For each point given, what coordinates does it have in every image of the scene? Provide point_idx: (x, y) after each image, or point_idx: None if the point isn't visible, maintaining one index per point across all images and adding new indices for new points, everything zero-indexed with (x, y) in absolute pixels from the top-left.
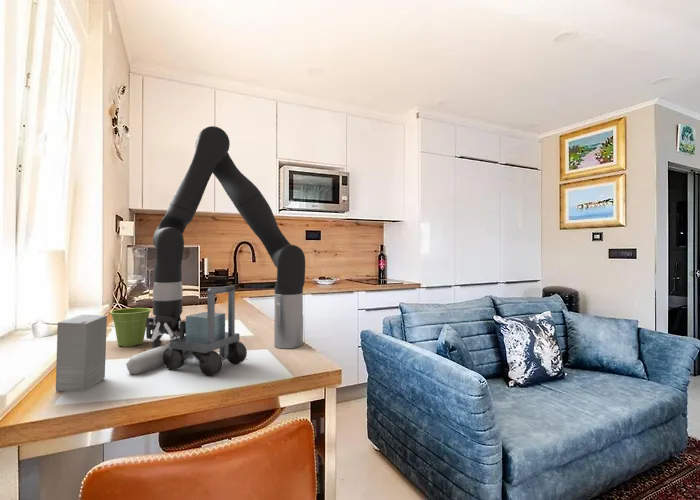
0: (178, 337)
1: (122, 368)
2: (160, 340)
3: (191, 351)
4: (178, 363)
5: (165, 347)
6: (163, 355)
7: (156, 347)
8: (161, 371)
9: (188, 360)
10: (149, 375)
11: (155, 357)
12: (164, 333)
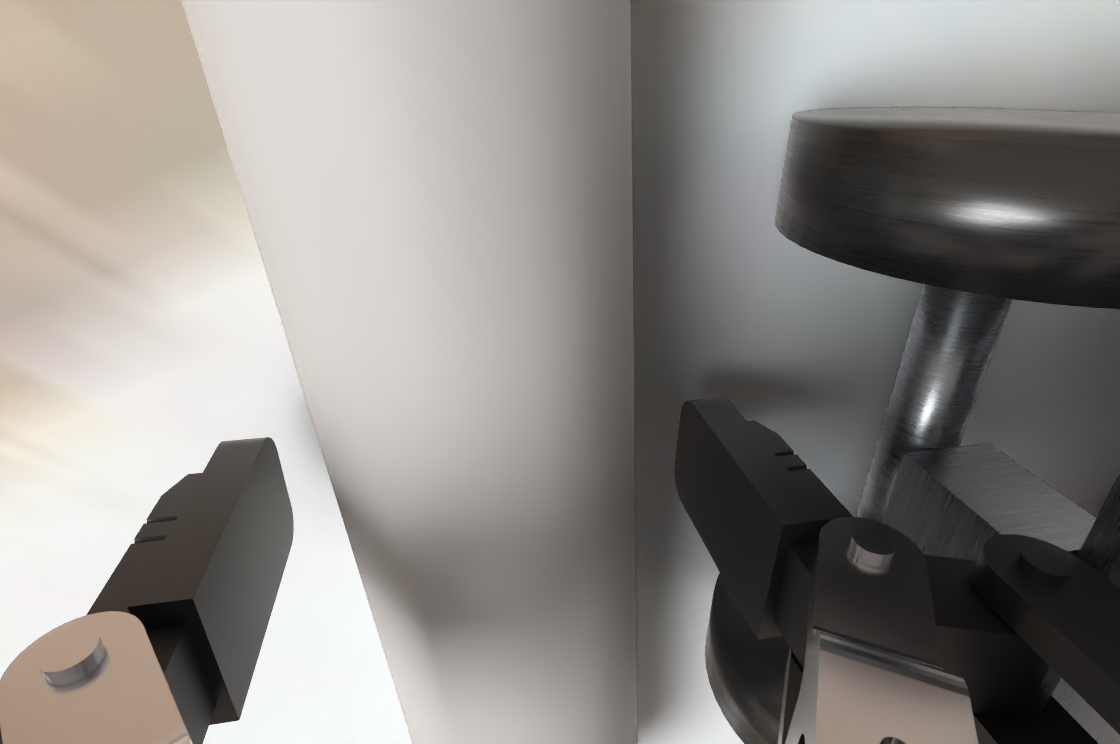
0: (806, 647)
1: (278, 740)
2: (166, 605)
3: (956, 445)
4: None
5: (568, 642)
6: (738, 724)
7: (451, 719)
8: (704, 623)
9: (735, 290)
10: (680, 702)
11: (633, 734)
12: (184, 738)
